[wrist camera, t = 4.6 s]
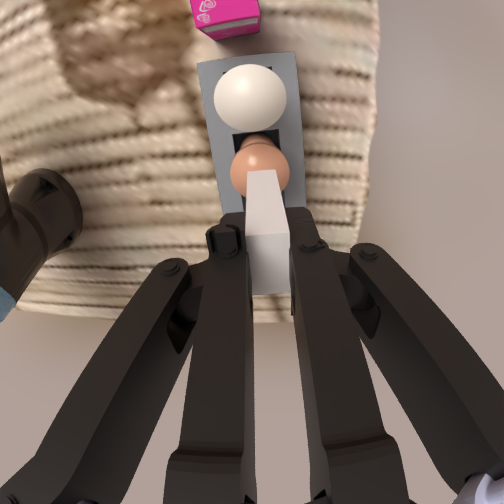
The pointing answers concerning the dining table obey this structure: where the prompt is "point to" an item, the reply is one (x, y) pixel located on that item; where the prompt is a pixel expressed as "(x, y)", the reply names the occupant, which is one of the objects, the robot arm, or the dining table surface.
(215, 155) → the socket block
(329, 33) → the dining table surface
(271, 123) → the cream plug
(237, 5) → the supplement box
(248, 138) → the terracotta plug
